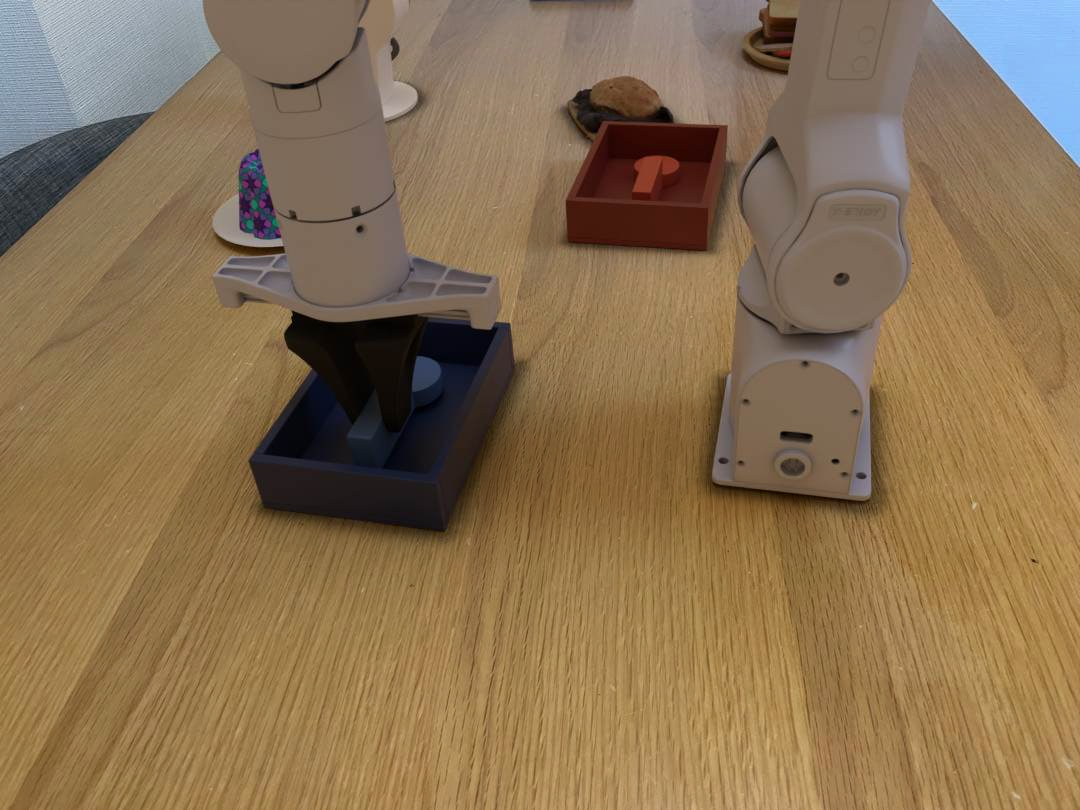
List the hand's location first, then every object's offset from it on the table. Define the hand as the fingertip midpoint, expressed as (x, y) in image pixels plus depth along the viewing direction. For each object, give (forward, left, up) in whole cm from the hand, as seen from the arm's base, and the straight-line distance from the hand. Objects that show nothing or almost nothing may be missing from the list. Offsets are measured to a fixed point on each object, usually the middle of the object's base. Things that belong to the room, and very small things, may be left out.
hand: (382, 419), depth 55 cm
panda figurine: (+49, +21, -2) cm, 53 cm away
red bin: (+32, -10, -2) cm, 33 cm away
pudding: (+26, +18, -2) cm, 31 cm away
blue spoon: (+2, 0, -1) cm, 2 cm away
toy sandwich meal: (+66, -20, -2) cm, 69 cm away
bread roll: (+47, -5, -2) cm, 47 cm away
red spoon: (+32, -10, -2) cm, 33 cm away
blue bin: (+2, 0, -2) cm, 3 cm away
